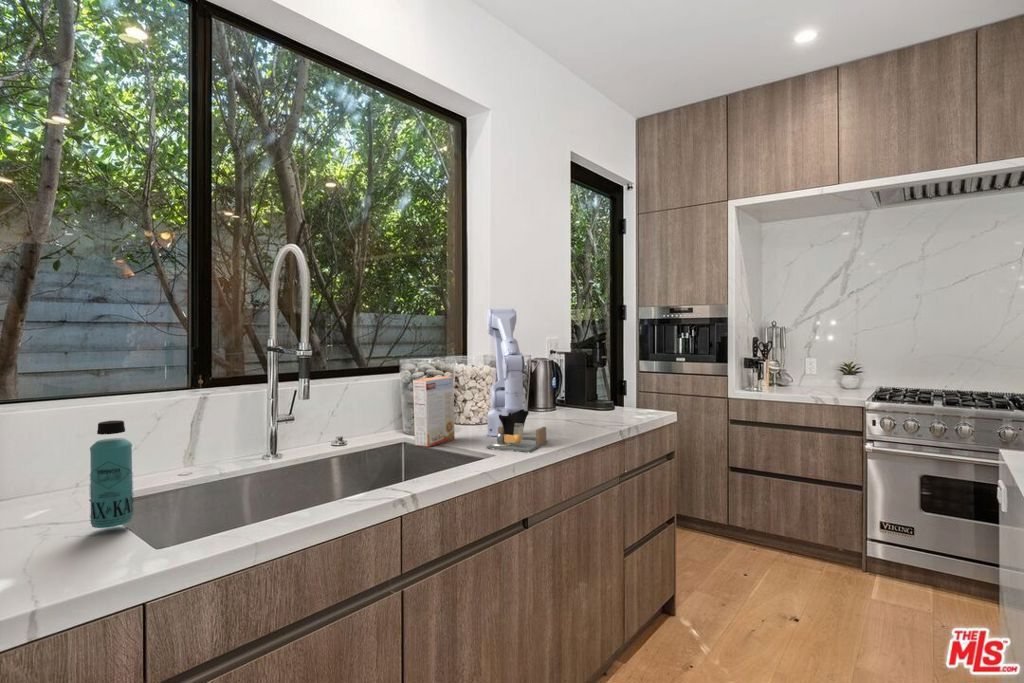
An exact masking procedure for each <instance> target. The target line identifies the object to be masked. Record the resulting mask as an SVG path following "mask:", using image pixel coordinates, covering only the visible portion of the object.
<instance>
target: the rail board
mask: <svg viewBox="0 0 1024 683" xmlns="http://www.w3.org/2000/svg"><path fill="white" fill-rule="evenodd" d="M498 433H505V432H504V428H503V426H500V427H498ZM510 443H511V445H509V446H502V447H499V446H492V445H491V444H489V445H486V449H487V448H494V449H502V450H501V451H505V450H513V451H512V452H517V451H524V452H523V453H528V452H530V451H531V452H533V451H535V450H537V449H539V448H540V446H541V447H542V445H543V446H544V444H545V443H547V444H548V440H547V426H542V427H540V428H538V429H537V428H536V430H535V436H529V435H527V436H526V435H523V439H522V440H521V443H519V444H517V443H512V442H510ZM545 445H546V444H545ZM538 447H539V448H538ZM536 448H537V449H536ZM534 449H535V450H534ZM532 450H533V451H532ZM531 452H530V453H531Z"/></svg>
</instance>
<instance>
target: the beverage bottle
mask: <svg viewBox="0 0 1024 683" xmlns="http://www.w3.org/2000/svg"><path fill="white" fill-rule="evenodd" d="M125 432H126V427H125V421H124V420H106V421H100V422H98V424H97V432H96V434H97V435H102V436H103V435H115V434H121V433H125ZM89 450H90V451H89V452H90V473H89V476H88V477H89V482H90V483H89V488H88V489H89V495H88V496H89V498H90V499H89V502H90V516H89V522H90V524H91V527H92V528H94V529H106V528H113V527H118V526H122V525H125V524H127V523H130V522H131V521H132V519H133V516H134V509H135V507H134V506H135V504H134V503H135V502H134V501H135V500H134V498H135V497H134V493H133V491H134V482H133V452H132V451H133V444H132V442H131V441H130V440H128V439H127V438H124V437H113V438H104V439H99V440H96V441H95V442H94V443H93V444H92V445H91V446H90V447H89Z"/></svg>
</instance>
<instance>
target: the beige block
mask: <svg viewBox="0 0 1024 683" xmlns="http://www.w3.org/2000/svg"><path fill="white" fill-rule="evenodd" d="M523 425H524V426H525V424H522V423H515V425H514V433H513V435H514V436H515V435H517V434H519V435H521V440H522V439H523V436H524V428H523Z"/></svg>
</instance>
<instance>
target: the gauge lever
mask: <svg viewBox="0 0 1024 683" xmlns="http://www.w3.org/2000/svg"><path fill="white" fill-rule="evenodd" d="M504 442H512V443H517V444H519V443H521V435H519V434H517V435H515V436H514V435H507V434H506V435H504Z"/></svg>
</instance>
